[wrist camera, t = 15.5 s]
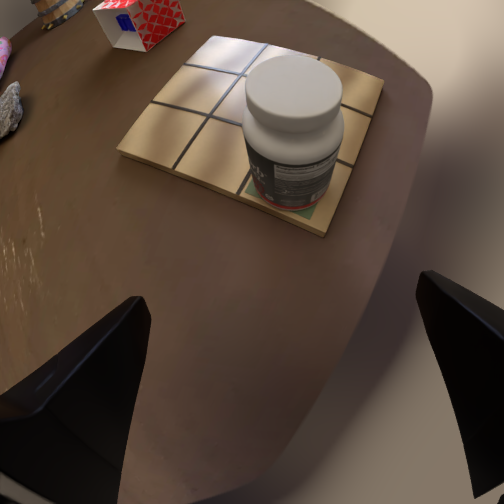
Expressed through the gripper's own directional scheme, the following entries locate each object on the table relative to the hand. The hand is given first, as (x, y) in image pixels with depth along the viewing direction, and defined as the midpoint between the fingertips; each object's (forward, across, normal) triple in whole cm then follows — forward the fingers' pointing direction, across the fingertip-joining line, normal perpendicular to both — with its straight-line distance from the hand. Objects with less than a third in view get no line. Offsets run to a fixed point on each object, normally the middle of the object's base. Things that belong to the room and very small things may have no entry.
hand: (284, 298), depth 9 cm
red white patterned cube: (+36, +14, -18) cm, 42 cm away
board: (+21, +1, -4) cm, 22 cm away
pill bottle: (+15, -2, +1) cm, 15 cm away
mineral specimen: (+29, +39, -12) cm, 51 cm away
